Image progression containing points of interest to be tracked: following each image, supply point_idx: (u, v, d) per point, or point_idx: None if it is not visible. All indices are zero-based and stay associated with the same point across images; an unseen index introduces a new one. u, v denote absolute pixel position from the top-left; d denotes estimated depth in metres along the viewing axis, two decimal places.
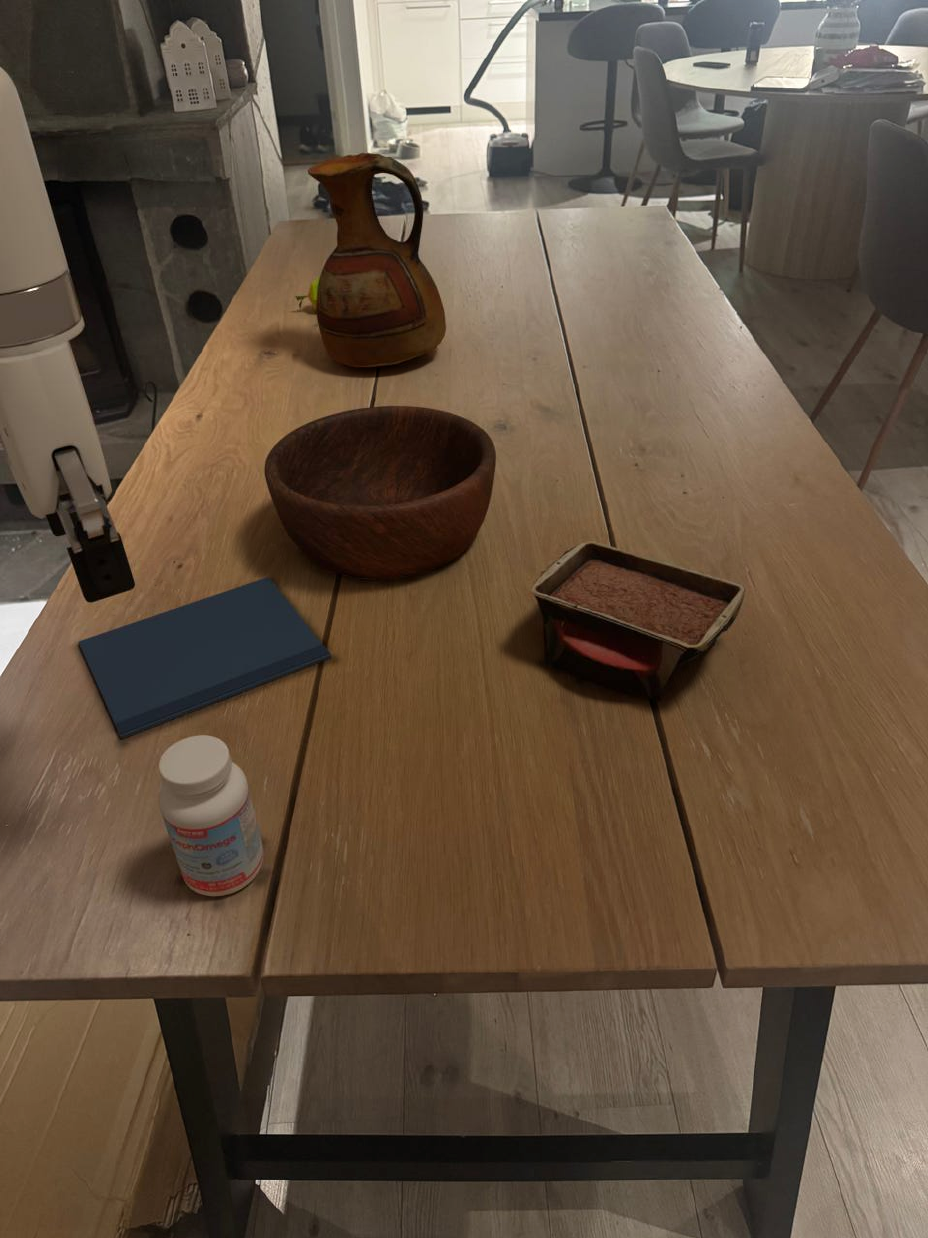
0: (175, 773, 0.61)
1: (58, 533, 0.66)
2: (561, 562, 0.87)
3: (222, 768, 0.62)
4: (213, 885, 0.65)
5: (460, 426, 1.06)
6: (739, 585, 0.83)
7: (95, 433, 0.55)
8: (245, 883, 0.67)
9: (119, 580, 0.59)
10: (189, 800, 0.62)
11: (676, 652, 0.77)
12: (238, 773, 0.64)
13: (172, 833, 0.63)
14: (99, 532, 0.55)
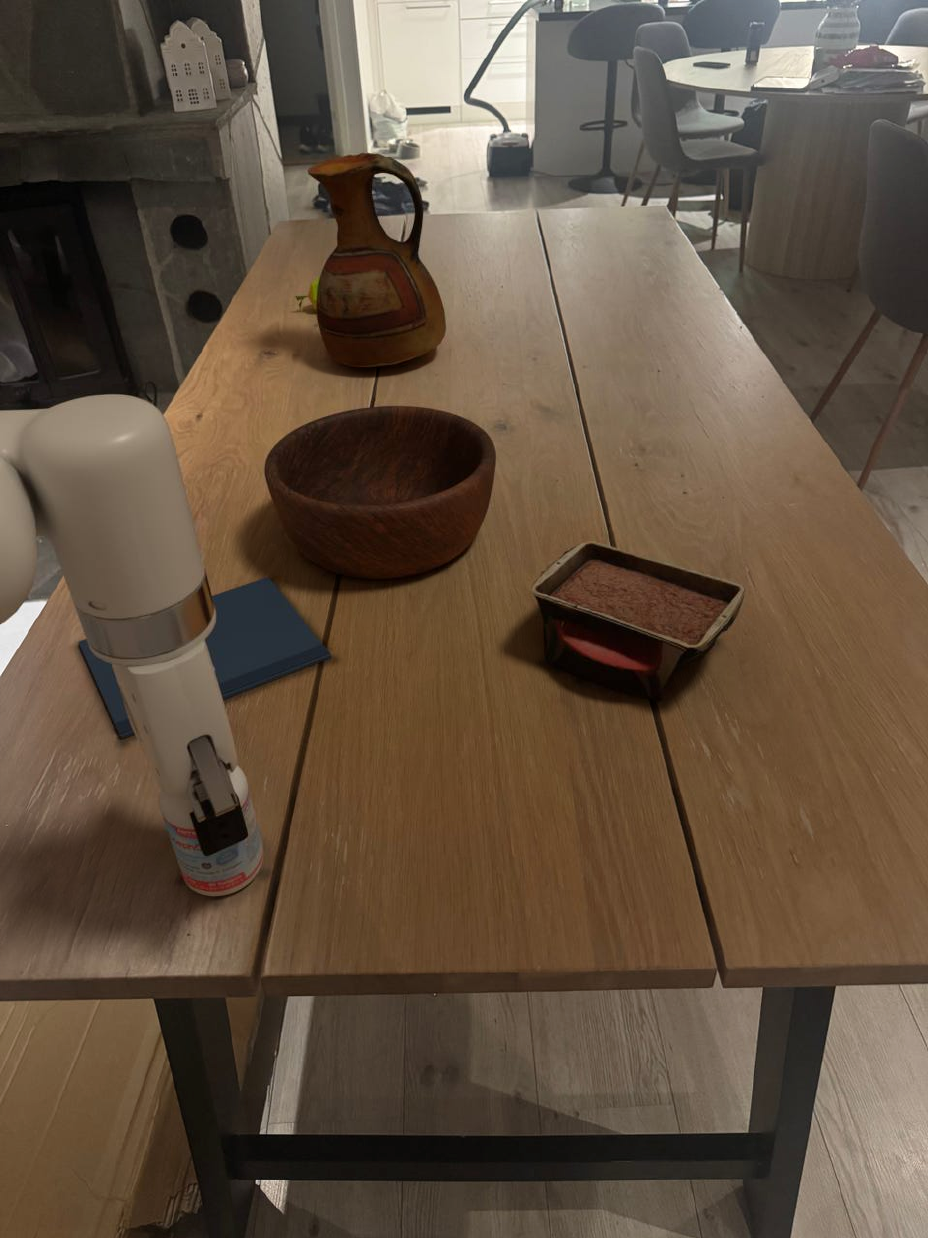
0: None
1: None
2: (561, 562, 0.87)
3: None
4: (213, 885, 0.65)
5: (460, 426, 1.06)
6: (739, 585, 0.83)
7: (227, 719, 0.56)
8: (245, 883, 0.67)
9: (236, 837, 0.62)
10: (189, 800, 0.62)
11: (676, 652, 0.77)
12: (238, 773, 0.64)
13: (172, 833, 0.63)
14: None
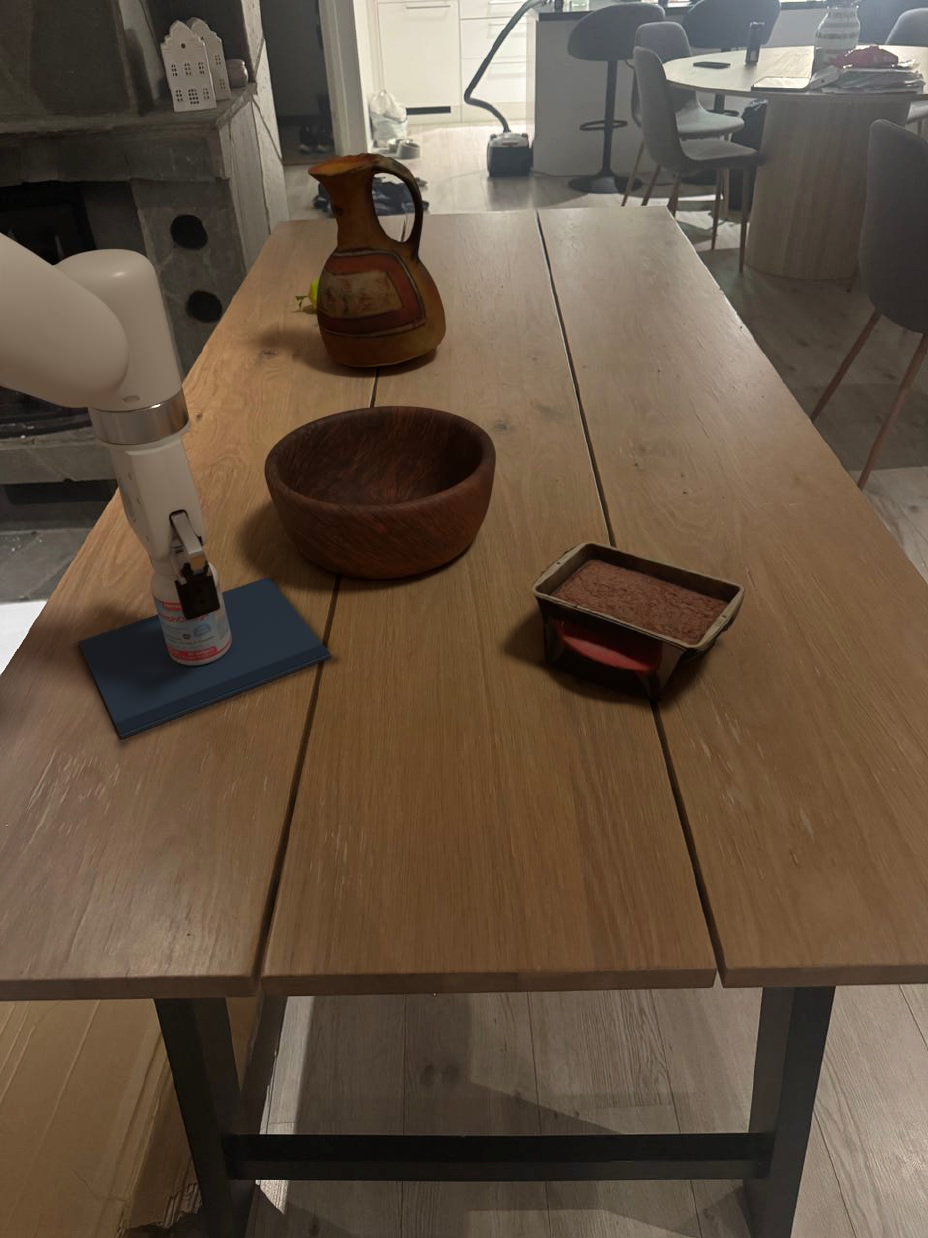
0: (162, 558, 0.82)
1: None
2: (561, 562, 0.87)
3: None
4: (192, 654, 0.86)
5: (460, 426, 1.06)
6: (739, 585, 0.83)
7: (198, 500, 0.77)
8: (217, 656, 0.87)
9: (210, 604, 0.81)
10: (173, 580, 0.82)
11: (676, 652, 0.77)
12: (210, 566, 0.85)
13: (160, 609, 0.84)
14: (201, 570, 0.76)
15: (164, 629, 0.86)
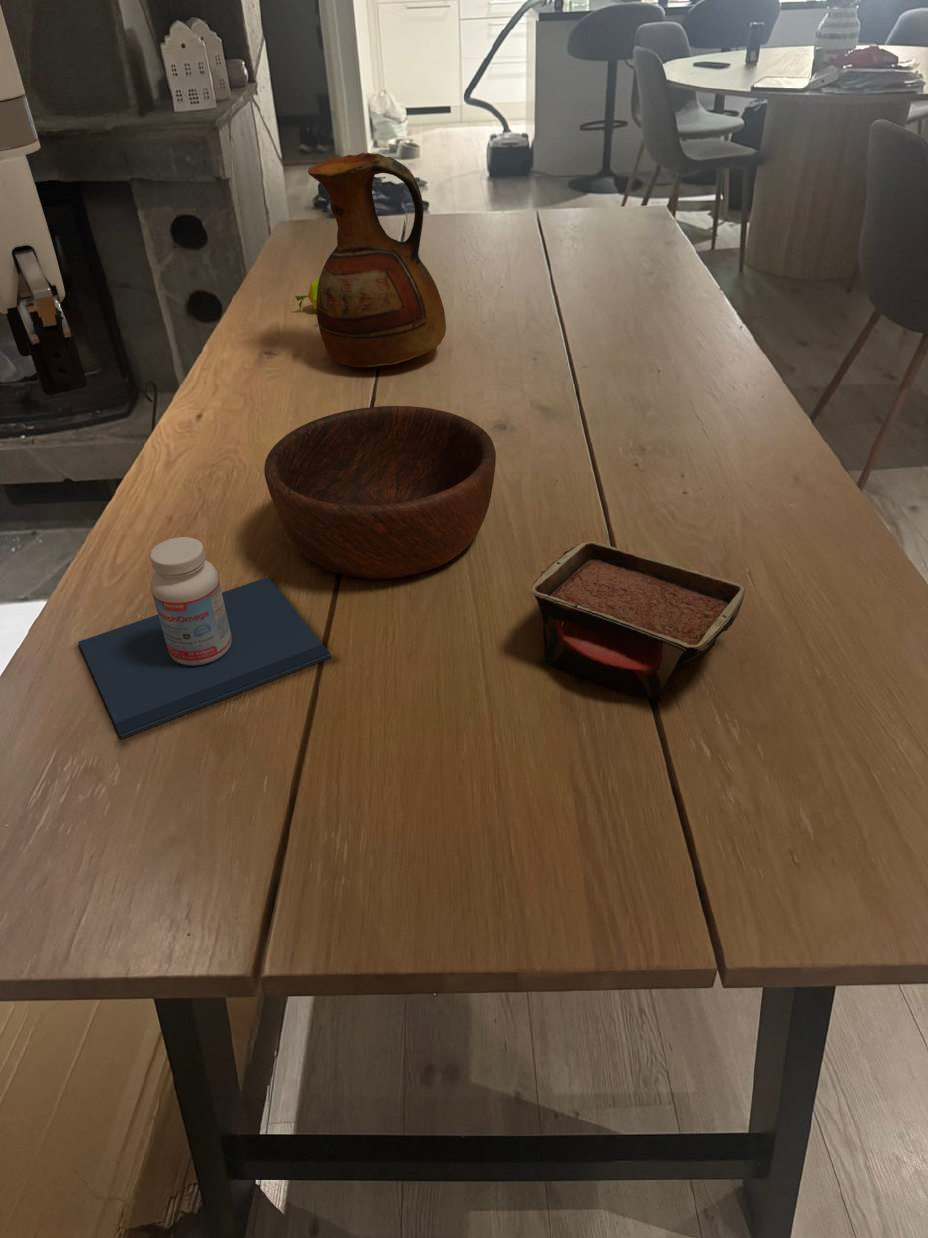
0: (162, 558, 0.82)
1: (24, 353, 0.76)
2: (560, 562, 0.87)
3: (198, 556, 0.82)
4: (192, 654, 0.86)
5: (460, 426, 1.06)
6: (739, 585, 0.83)
7: (49, 238, 0.65)
8: (217, 656, 0.87)
9: (72, 374, 0.69)
10: (173, 579, 0.82)
11: (676, 652, 0.77)
12: (210, 566, 0.85)
13: (160, 609, 0.84)
14: (52, 321, 0.65)
15: (164, 629, 0.86)
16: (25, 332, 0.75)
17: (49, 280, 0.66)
